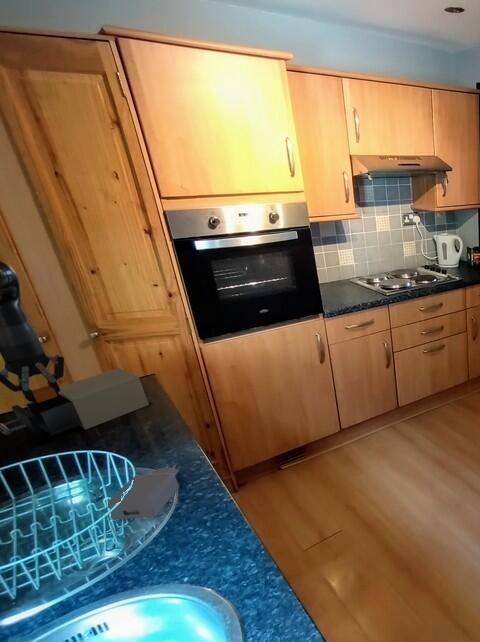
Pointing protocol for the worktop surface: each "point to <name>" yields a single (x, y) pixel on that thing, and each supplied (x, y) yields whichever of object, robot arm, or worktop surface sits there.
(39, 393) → the orange lobed block
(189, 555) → the worktop surface
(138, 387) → the grey sloped box
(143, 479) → the charger
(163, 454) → the worktop surface
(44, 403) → the dark drawer with handle
